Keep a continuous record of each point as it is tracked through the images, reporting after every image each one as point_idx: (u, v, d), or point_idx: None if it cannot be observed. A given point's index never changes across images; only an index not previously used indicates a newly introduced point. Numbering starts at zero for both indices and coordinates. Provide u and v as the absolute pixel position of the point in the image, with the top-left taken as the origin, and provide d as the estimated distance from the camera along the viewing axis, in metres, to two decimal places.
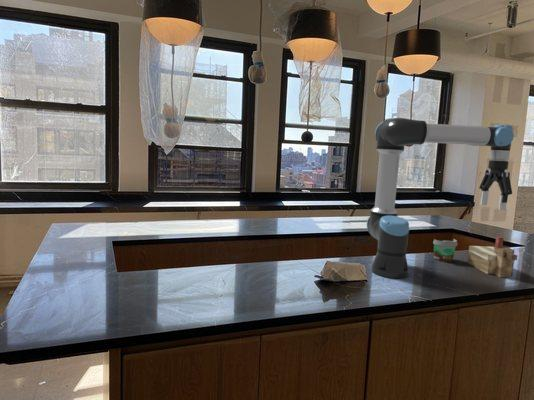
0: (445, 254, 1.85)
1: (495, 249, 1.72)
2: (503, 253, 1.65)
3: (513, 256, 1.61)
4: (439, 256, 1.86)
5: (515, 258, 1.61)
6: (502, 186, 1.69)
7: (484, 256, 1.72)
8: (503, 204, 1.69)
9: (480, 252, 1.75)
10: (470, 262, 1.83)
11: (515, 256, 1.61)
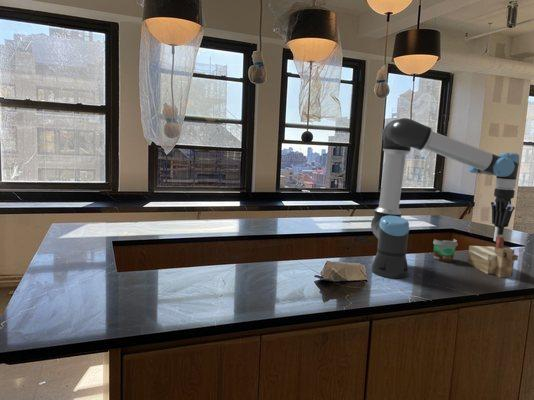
0: (445, 254, 1.85)
1: (496, 249, 1.71)
2: (503, 253, 1.65)
3: (514, 256, 1.61)
4: (439, 256, 1.86)
5: (516, 258, 1.61)
6: (501, 218, 1.69)
7: (484, 256, 1.72)
8: (499, 236, 1.72)
9: (480, 252, 1.75)
10: (470, 262, 1.83)
11: (516, 256, 1.61)
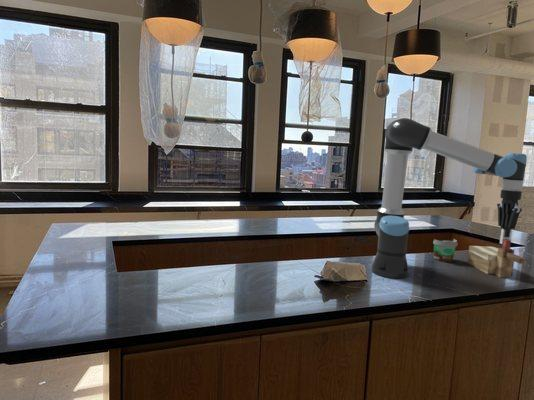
0: (445, 254, 1.85)
1: None
2: (503, 253, 1.65)
3: (521, 259, 1.56)
4: (439, 256, 1.86)
5: (523, 262, 1.56)
6: (508, 220, 1.65)
7: (484, 256, 1.72)
8: (505, 238, 1.67)
9: (480, 252, 1.75)
10: (470, 262, 1.83)
11: (523, 259, 1.56)
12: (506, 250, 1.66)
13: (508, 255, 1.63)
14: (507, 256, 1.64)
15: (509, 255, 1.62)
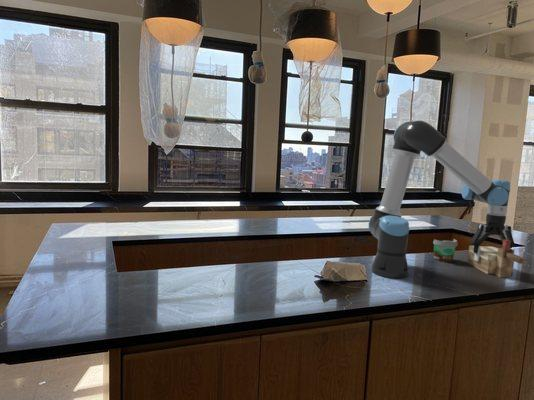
0: (445, 254, 1.85)
1: None
2: (503, 253, 1.65)
3: (521, 260, 1.56)
4: (439, 256, 1.86)
5: (523, 262, 1.56)
6: (479, 238, 1.76)
7: (484, 256, 1.72)
8: (476, 255, 1.77)
9: (480, 252, 1.75)
10: (470, 262, 1.83)
11: (523, 260, 1.56)
12: (506, 250, 1.66)
13: (508, 255, 1.63)
14: (507, 256, 1.64)
15: (509, 255, 1.62)
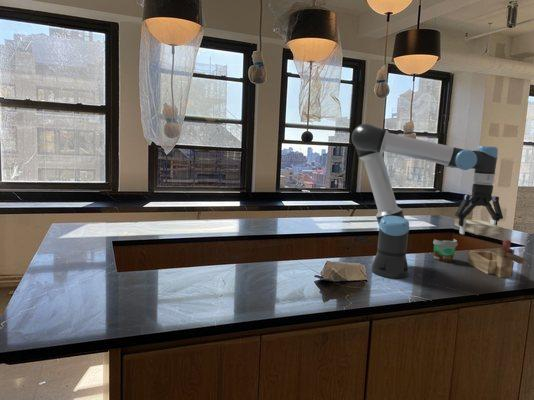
0: (445, 254, 1.85)
1: None
2: (503, 253, 1.65)
3: (521, 260, 1.56)
4: (439, 256, 1.86)
5: (523, 262, 1.56)
6: (465, 209, 1.64)
7: (470, 228, 1.59)
8: (461, 228, 1.64)
9: (466, 224, 1.62)
10: (470, 262, 1.83)
11: (523, 260, 1.56)
12: (506, 250, 1.66)
13: (508, 255, 1.63)
14: (507, 256, 1.64)
15: (509, 255, 1.62)
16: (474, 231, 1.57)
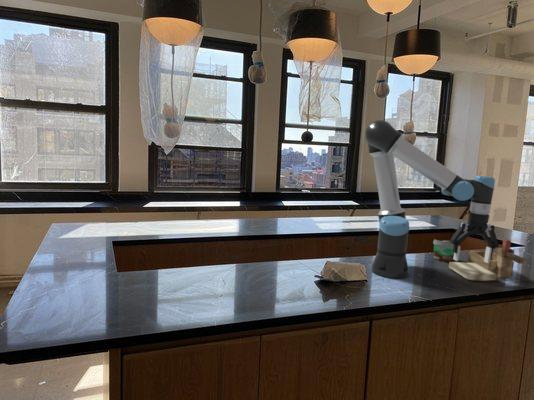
0: (445, 254, 1.85)
1: None
2: (503, 253, 1.65)
3: (521, 260, 1.56)
4: (439, 256, 1.86)
5: (523, 262, 1.56)
6: (460, 236, 1.66)
7: (463, 274, 1.62)
8: (455, 254, 1.66)
9: (459, 270, 1.65)
10: (470, 262, 1.83)
11: (523, 260, 1.56)
12: (506, 250, 1.66)
13: (508, 255, 1.63)
14: (507, 256, 1.64)
15: (509, 255, 1.62)
16: (468, 278, 1.59)
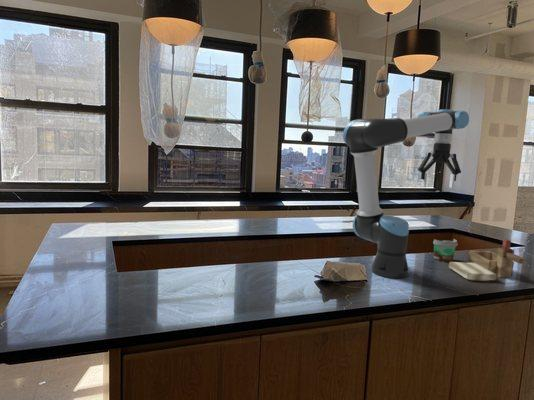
0: (445, 254, 1.85)
1: None
2: (503, 253, 1.65)
3: (521, 260, 1.56)
4: (439, 256, 1.86)
5: (523, 262, 1.56)
6: (427, 165, 1.88)
7: (463, 274, 1.62)
8: (423, 181, 1.88)
9: (459, 269, 1.65)
10: (470, 262, 1.83)
11: (523, 260, 1.56)
12: (506, 250, 1.66)
13: (508, 255, 1.63)
14: (507, 256, 1.64)
15: (509, 255, 1.62)
16: (468, 278, 1.59)
